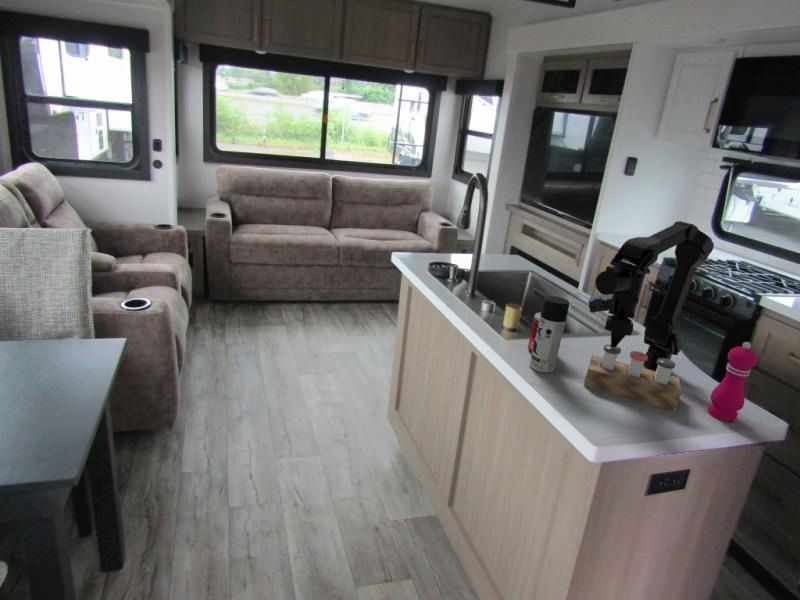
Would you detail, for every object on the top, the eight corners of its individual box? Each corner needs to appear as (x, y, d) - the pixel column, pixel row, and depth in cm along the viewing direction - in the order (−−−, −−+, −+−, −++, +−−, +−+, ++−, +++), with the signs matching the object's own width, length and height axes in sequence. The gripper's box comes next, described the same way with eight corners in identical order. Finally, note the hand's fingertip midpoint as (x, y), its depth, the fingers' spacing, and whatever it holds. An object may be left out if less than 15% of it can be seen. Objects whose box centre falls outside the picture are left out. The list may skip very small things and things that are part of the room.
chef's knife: (718, 411, 141) (724, 408, 143) (719, 407, 140) (725, 404, 142) (649, 377, 155) (655, 374, 157) (650, 373, 154) (656, 371, 156)
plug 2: (667, 384, 143) (675, 361, 140) (668, 391, 139) (675, 367, 137) (650, 379, 144) (657, 356, 142) (650, 386, 140) (657, 362, 138)
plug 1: (615, 370, 147) (621, 347, 145) (614, 376, 143) (620, 352, 141) (598, 365, 149) (604, 342, 146) (597, 371, 145) (603, 348, 143)
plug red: (641, 377, 145) (648, 354, 143) (640, 383, 141) (647, 360, 139) (624, 372, 146) (630, 349, 144) (623, 379, 143) (630, 355, 140)
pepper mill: (724, 424, 133) (752, 350, 127) (699, 409, 140) (724, 336, 133) (744, 421, 136) (772, 347, 129) (718, 405, 142) (744, 334, 136)
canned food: (555, 360, 157) (564, 324, 154) (527, 354, 159) (535, 319, 155) (554, 349, 165) (562, 315, 161) (527, 344, 166) (534, 310, 162)
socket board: (673, 394, 145) (679, 377, 144) (674, 411, 137) (680, 394, 135) (587, 370, 153) (592, 354, 151) (583, 385, 144) (588, 368, 143)
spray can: (527, 361, 155) (541, 293, 148) (551, 363, 155) (566, 296, 148) (531, 372, 149) (546, 302, 142) (556, 375, 149) (573, 305, 142)
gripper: (598, 274, 149) (585, 327, 155) (591, 292, 133) (576, 351, 138) (642, 283, 145) (627, 337, 151) (640, 303, 129) (623, 363, 134)
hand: (612, 346), depth 144 cm, fingers closed
